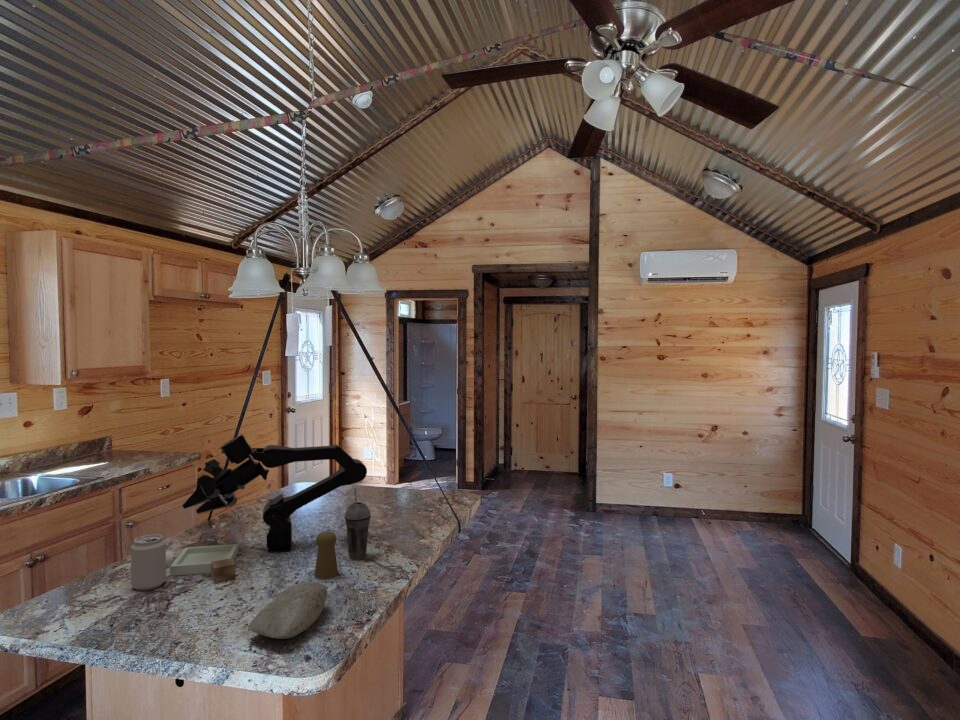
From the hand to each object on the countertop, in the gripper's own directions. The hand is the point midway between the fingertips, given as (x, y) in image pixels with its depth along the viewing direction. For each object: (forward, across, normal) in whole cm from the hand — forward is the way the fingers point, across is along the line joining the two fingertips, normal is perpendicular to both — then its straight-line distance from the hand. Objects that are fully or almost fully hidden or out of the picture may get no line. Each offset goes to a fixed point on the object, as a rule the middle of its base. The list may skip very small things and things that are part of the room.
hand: (190, 509), depth 158 cm
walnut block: (0, +7, +23) cm, 24 cm away
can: (+14, +10, +15) cm, 23 cm away
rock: (-14, +30, +47) cm, 58 cm away
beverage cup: (-30, -5, +38) cm, 49 cm away
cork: (-22, +6, +38) cm, 44 cm away
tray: (+4, -2, +15) cm, 16 cm away
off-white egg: (+13, -1, +9) cm, 16 cm away
